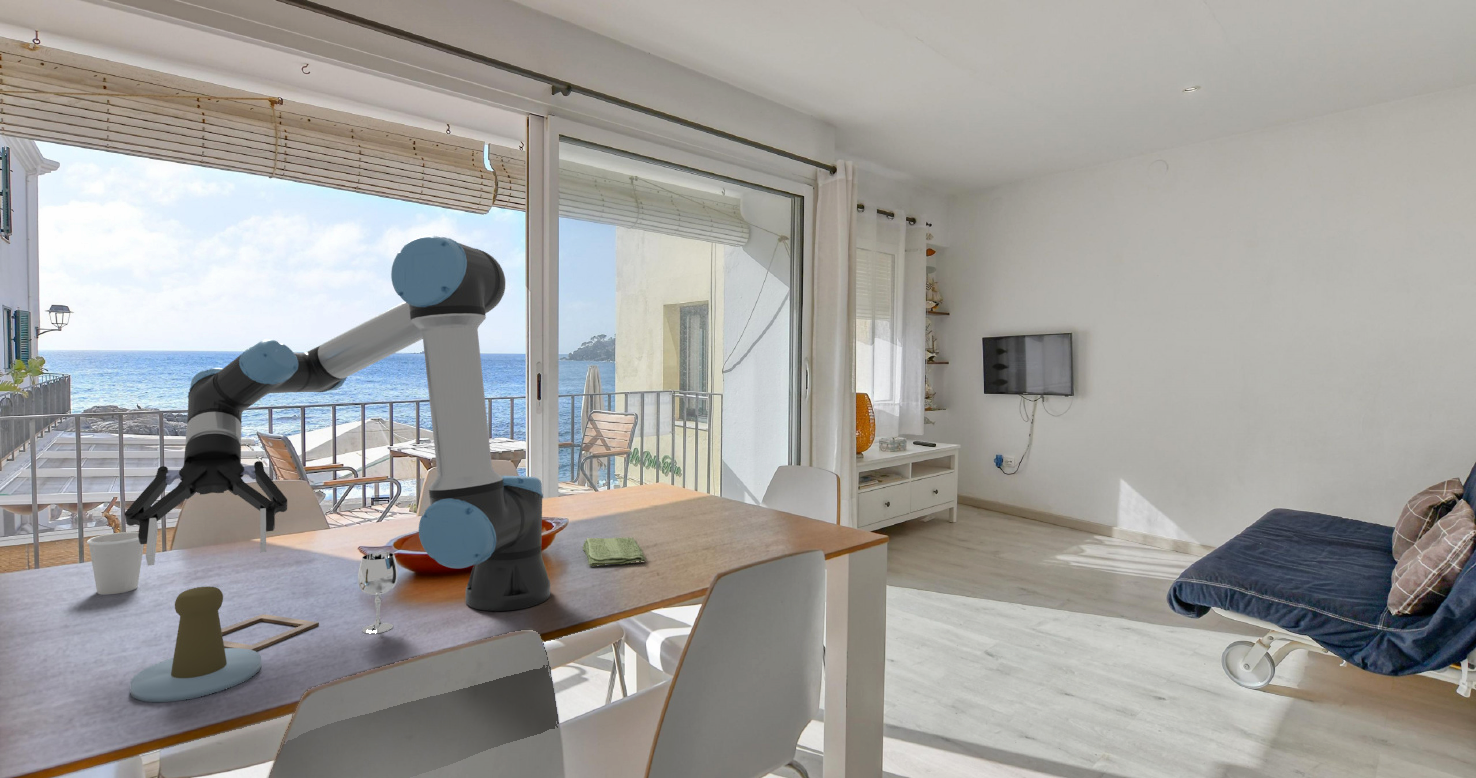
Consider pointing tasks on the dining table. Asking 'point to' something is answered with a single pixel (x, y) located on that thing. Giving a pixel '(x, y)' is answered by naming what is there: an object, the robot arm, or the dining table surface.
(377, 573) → the wineglass
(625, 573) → the dining table surface
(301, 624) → the walnut frame
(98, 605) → the dining table surface
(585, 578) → the dining table surface
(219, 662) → the cork
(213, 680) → the saucer
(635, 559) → the washcloth
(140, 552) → the dixie cup
